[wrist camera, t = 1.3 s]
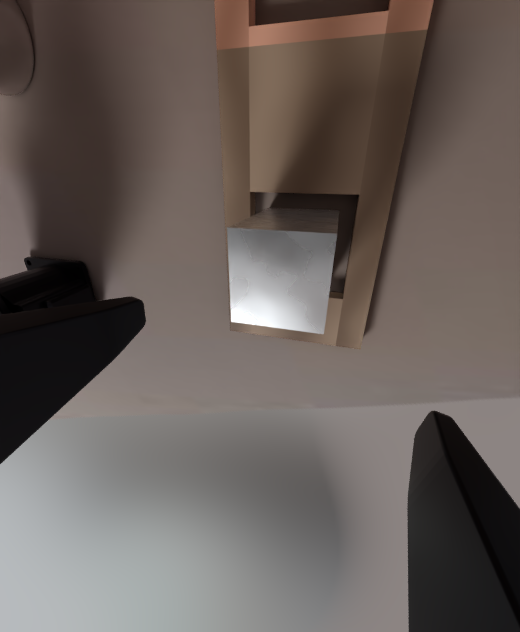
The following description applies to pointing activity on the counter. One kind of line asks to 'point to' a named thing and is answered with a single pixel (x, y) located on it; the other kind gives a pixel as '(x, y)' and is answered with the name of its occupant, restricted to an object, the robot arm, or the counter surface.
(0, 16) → the beer glass
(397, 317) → the counter surface
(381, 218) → the brown flat frame piece
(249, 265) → the square peg
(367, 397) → the counter surface
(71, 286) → the robot arm
